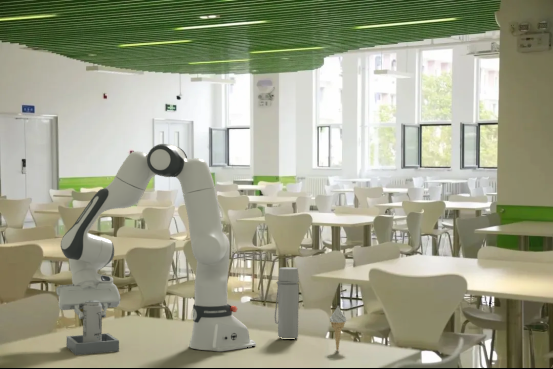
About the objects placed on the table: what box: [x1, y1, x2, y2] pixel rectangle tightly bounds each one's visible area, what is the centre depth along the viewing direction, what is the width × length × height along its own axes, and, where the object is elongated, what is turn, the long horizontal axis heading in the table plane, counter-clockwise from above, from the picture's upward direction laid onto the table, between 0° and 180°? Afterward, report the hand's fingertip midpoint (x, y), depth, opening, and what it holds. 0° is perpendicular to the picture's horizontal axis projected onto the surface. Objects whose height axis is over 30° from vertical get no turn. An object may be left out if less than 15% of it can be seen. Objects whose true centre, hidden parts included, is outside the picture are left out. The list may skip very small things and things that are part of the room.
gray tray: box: [66, 332, 120, 356], centre depth 263 cm, size 14×14×4 cm
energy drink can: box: [82, 300, 103, 343], centre depth 263 cm, size 6×6×15 cm
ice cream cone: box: [329, 305, 347, 351], centre depth 264 cm, size 6×6×15 cm
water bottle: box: [274, 266, 300, 339], centre depth 285 cm, size 9×8×25 cm
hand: (92, 317), depth 263 cm, fingers closed on energy drink can, 6 cm apart
